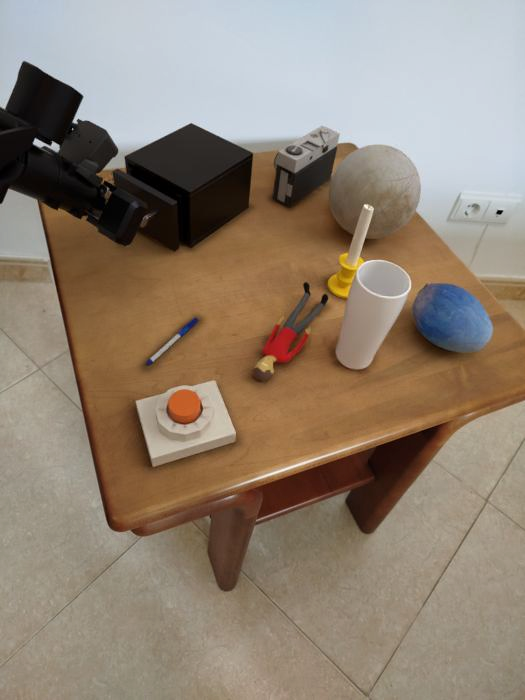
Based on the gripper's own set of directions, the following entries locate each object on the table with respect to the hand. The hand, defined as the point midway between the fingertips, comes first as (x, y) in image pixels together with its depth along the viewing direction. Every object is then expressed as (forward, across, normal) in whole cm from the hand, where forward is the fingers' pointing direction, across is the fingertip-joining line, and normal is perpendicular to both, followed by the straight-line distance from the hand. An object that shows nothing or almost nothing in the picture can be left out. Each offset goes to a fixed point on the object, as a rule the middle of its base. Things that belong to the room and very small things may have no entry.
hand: (123, 212), depth 72 cm
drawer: (+11, 0, -2) cm, 11 cm away
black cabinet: (+16, 0, -5) cm, 17 cm away
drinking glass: (+9, -39, +2) cm, 40 cm away
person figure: (+6, -30, +4) cm, 31 cm away
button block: (-8, -28, +18) cm, 34 cm away
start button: (-10, -28, +15) cm, 34 cm away
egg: (+18, -46, -7) cm, 49 cm away
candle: (+17, -31, -6) cm, 36 cm away
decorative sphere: (+28, -26, -17) cm, 42 cm away
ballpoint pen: (-1, -18, +12) cm, 22 cm away
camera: (+30, -9, -19) cm, 37 cm away
